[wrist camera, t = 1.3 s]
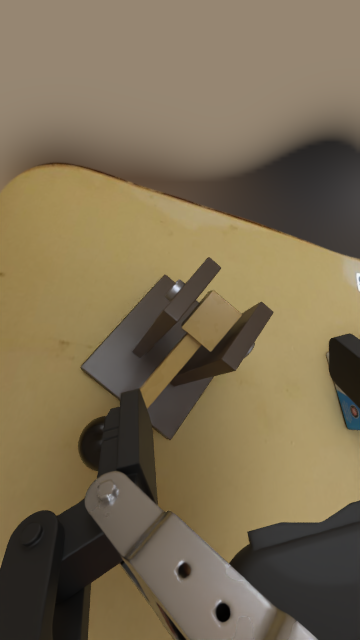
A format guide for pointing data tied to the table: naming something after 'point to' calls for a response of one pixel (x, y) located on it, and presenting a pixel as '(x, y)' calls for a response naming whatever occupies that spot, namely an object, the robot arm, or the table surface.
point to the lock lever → (170, 363)
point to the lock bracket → (161, 337)
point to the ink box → (348, 408)
